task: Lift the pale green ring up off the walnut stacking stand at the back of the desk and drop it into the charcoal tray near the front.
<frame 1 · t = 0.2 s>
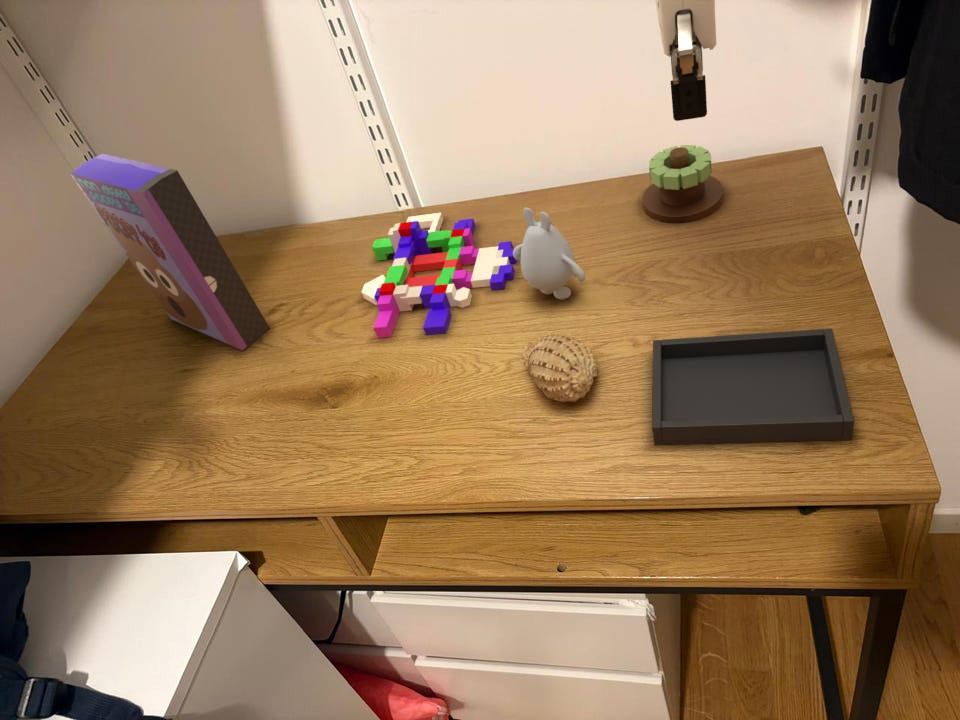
hand: (688, 95, 77), 18 cm above the table, tool pointing down, fingers open, 9 cm apart
stand: (682, 200, 96), on the table
toy figure: (555, 296, 88), on the table
tray: (744, 395, 70), on the table
seashell: (560, 379, 78), on the table
building block set: (441, 272, 98), on the table
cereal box: (219, 324, 102), on the table
ring: (680, 173, 93), point 4 cm above the table, touching stand
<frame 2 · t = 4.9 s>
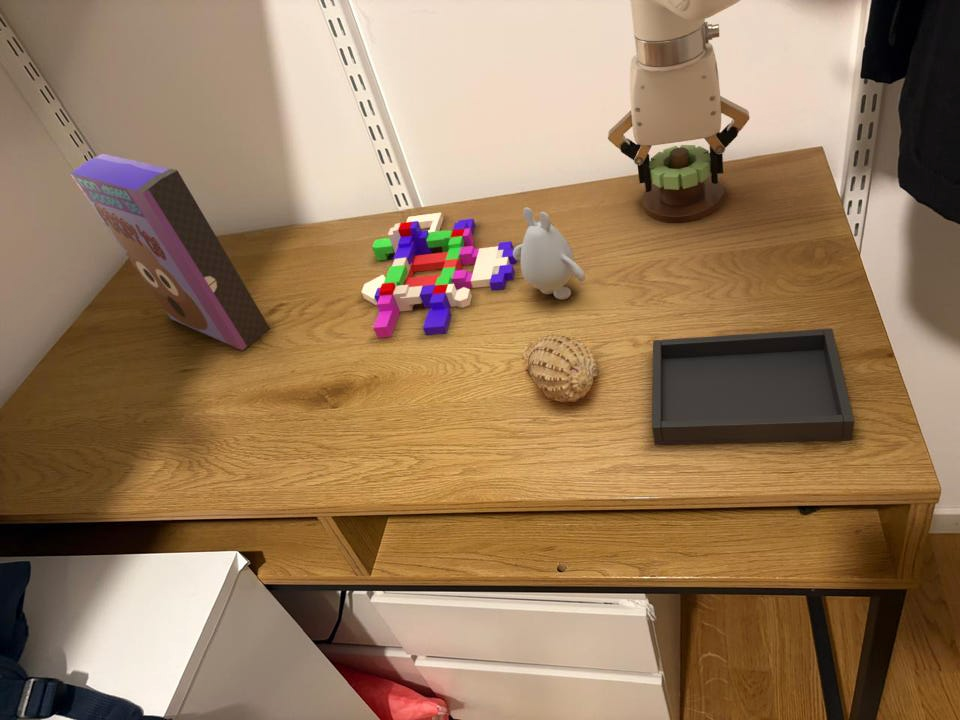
hand: (681, 181, 94), 3 cm above the table, tool pointing down, fingers closed on ring, 7 cm apart
ring: (680, 173, 93), point 4 cm above the table, touching gripper, stand
everything else where it was.
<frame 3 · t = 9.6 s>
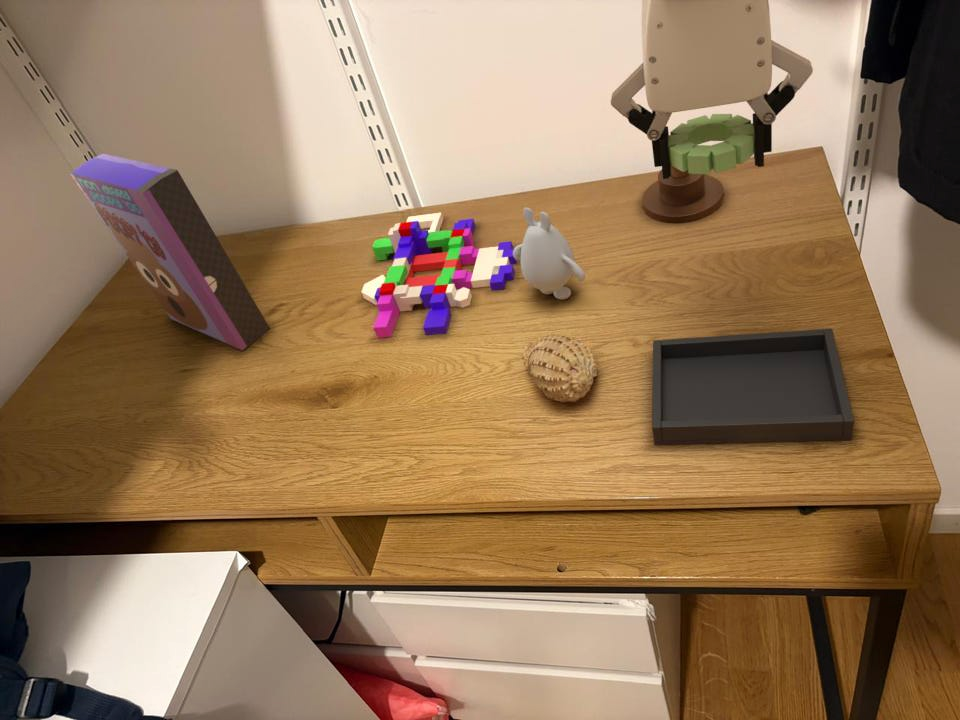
hand: (712, 164, 68), 17 cm above the table, tool pointing down, fingers closed on ring, 7 cm apart
ring: (711, 152, 67), point 19 cm above the table, touching gripper
everything else where it was.
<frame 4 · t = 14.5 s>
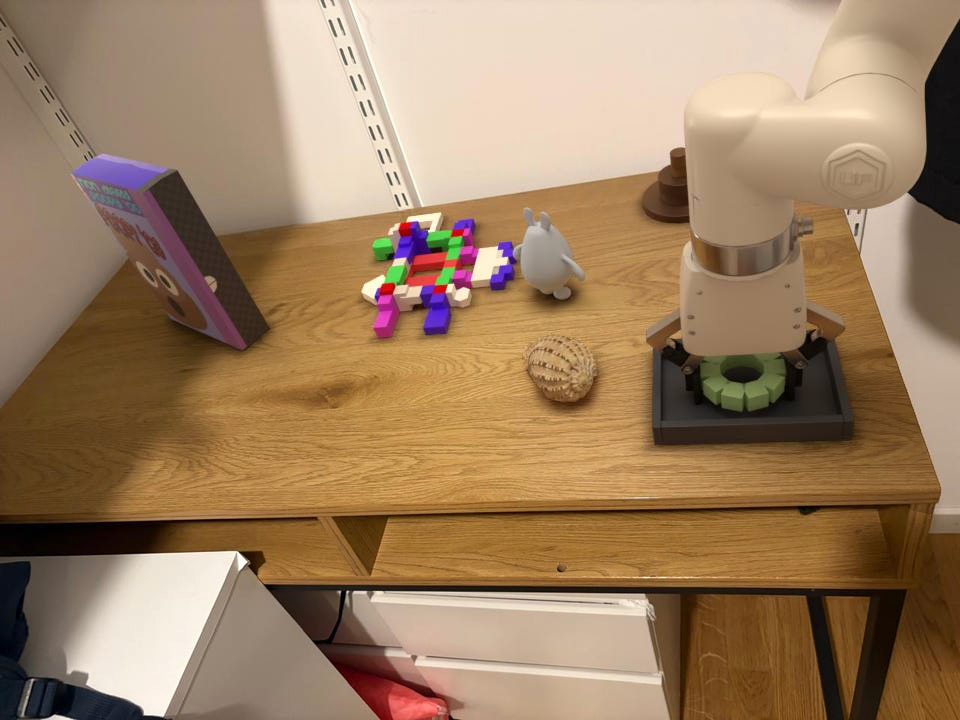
hand: (742, 390, 70), 1 cm above the table, tool pointing down, fingers closed on ring, 7 cm apart
ring: (742, 381, 69), point 2 cm above the table, touching gripper
everything else where it was.
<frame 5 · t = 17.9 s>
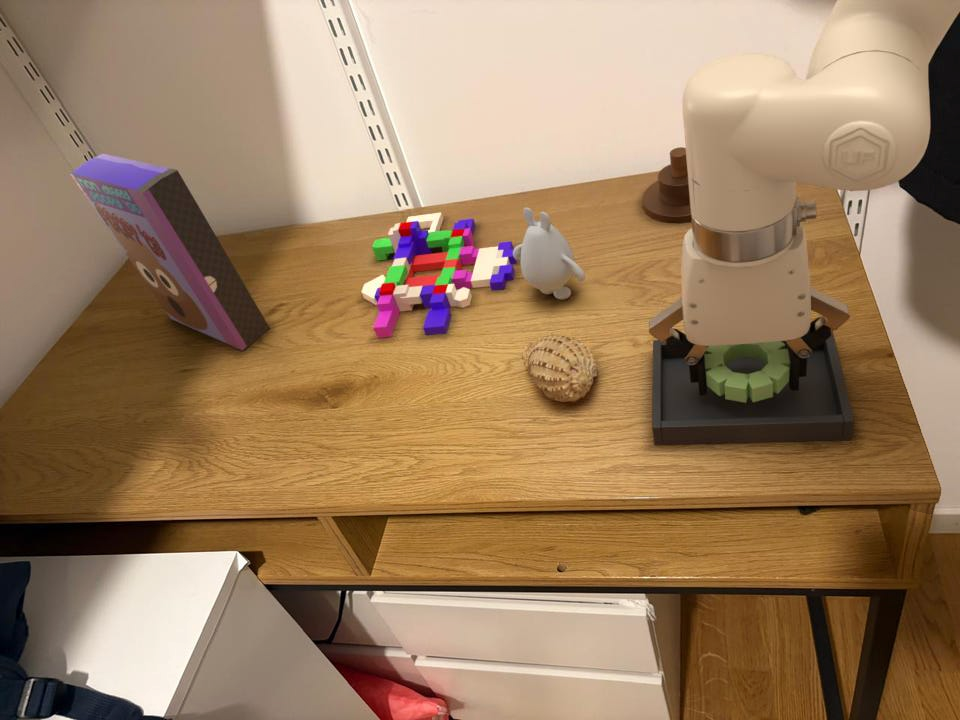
hand: (746, 381, 69), 2 cm above the table, tool pointing down, fingers closed on ring, 7 cm apart
ring: (746, 372, 68), point 3 cm above the table, touching gripper
everything else where it was.
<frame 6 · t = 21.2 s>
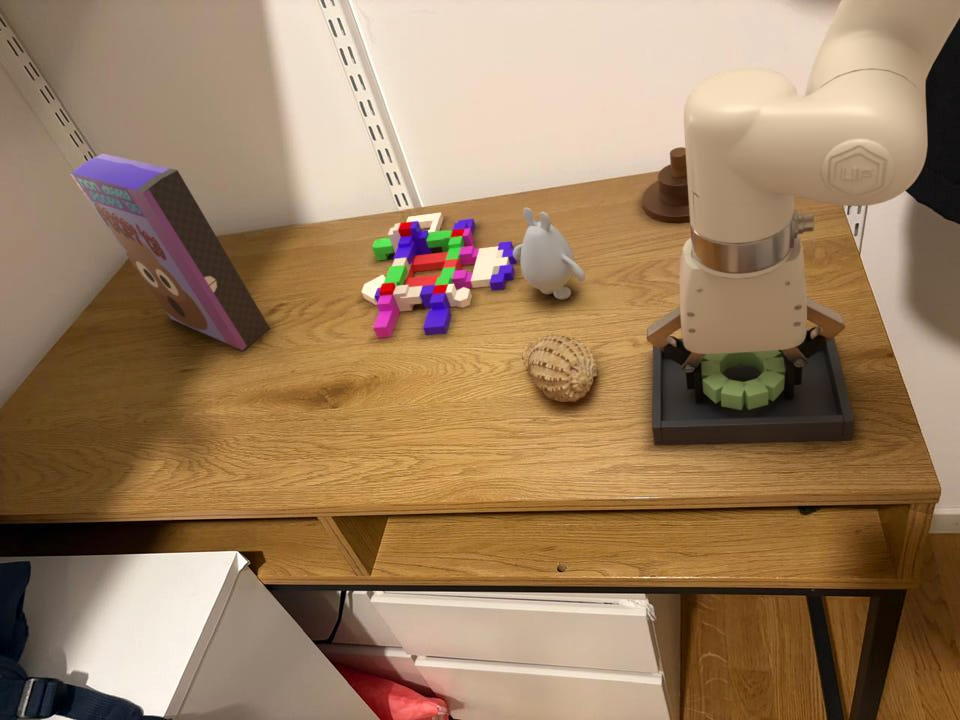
hand: (742, 388, 70), 1 cm above the table, tool pointing down, fingers closed on ring, 7 cm apart
ring: (741, 379, 69), point 2 cm above the table, touching gripper
everything else where it was.
when the fingers open (2 cm above the table, at t = 27.4 s): ring drops 3 cm, resting on tray.
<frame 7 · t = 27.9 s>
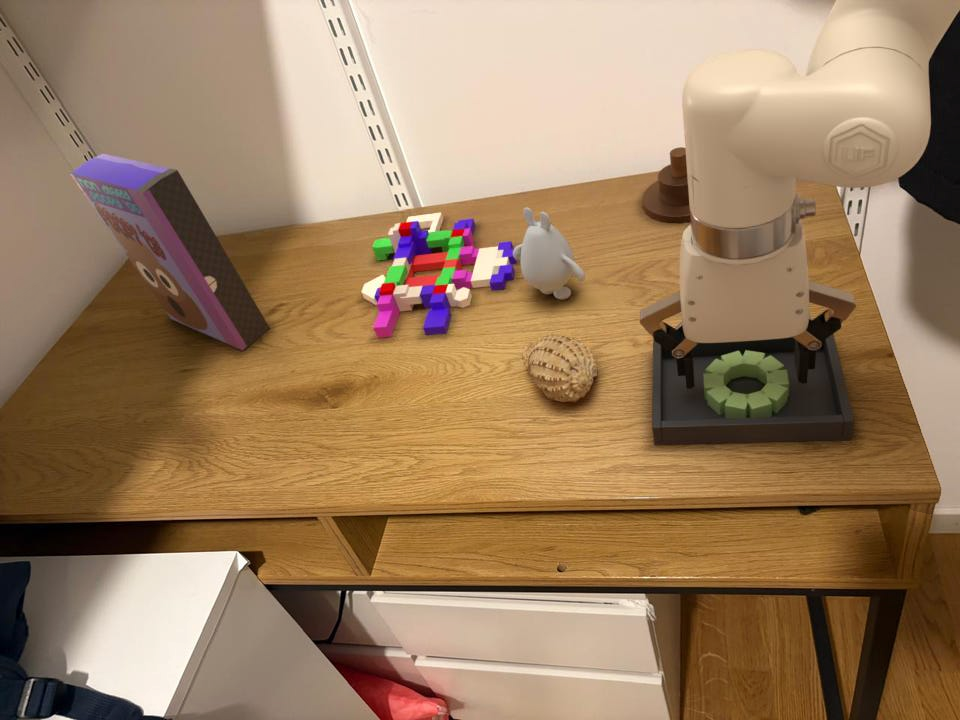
hand: (744, 375, 68), 3 cm above the table, tool pointing down, fingers open, 9 cm apart
ring: (745, 391, 70), resting on tray
everything else where it was.
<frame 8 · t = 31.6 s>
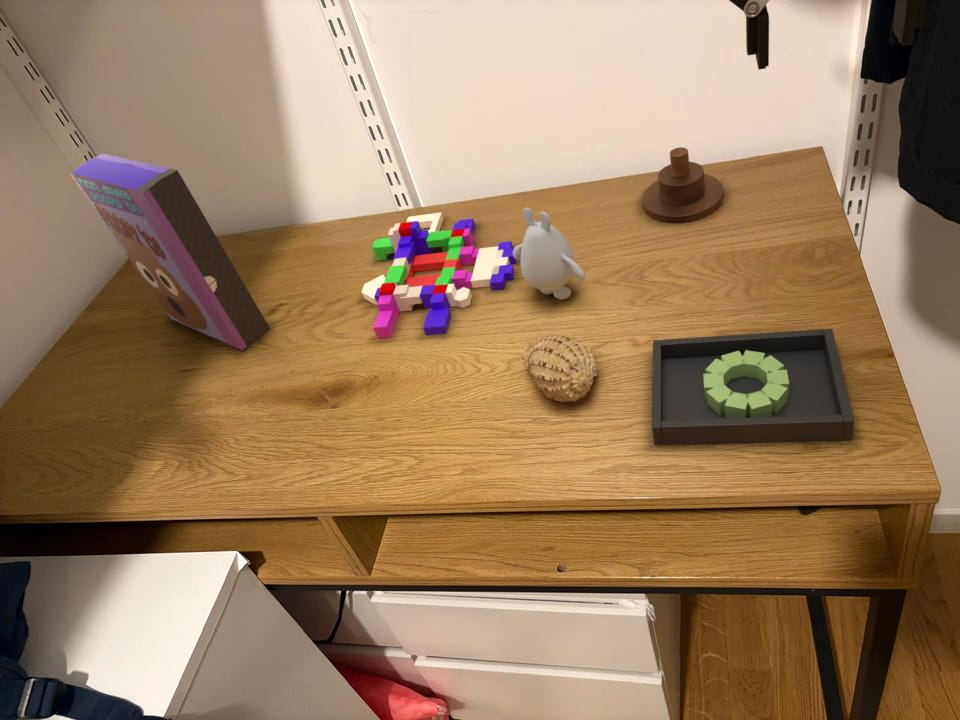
hand: (830, 50, 55), 28 cm above the table, tool pointing down, fingers open, 9 cm apart
nothing on the table moved.
at the end: ring inside the target area in the tray (0.1 cm from its centre), point 0.5 cm above the tray's base; ring moved 35.1 cm from its start; the gripper is holding nothing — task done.
